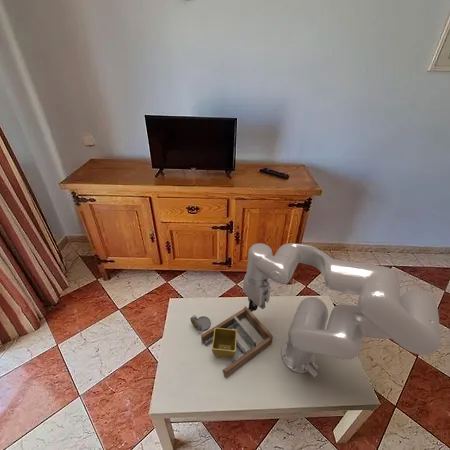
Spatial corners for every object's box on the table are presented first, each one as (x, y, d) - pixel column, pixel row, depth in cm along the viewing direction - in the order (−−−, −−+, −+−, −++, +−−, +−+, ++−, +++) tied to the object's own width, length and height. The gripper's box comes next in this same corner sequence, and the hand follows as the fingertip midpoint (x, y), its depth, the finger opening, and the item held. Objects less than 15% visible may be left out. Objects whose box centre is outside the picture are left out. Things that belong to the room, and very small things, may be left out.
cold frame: (271, 344, 105) (273, 336, 101) (225, 378, 94) (225, 370, 91) (245, 314, 116) (245, 305, 112) (201, 342, 105) (200, 333, 102)
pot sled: (255, 350, 102) (256, 340, 98) (224, 373, 95) (224, 364, 91) (234, 325, 111) (235, 315, 107) (204, 344, 104) (204, 334, 100)
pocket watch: (212, 319, 114) (211, 304, 108) (207, 336, 107) (206, 322, 101) (194, 315, 115) (193, 301, 109) (188, 332, 109) (186, 318, 103)
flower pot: (236, 341, 106) (237, 329, 100) (234, 363, 99) (235, 351, 93) (215, 339, 106) (214, 327, 101) (212, 361, 99) (211, 349, 94)
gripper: (281, 285, 85) (273, 318, 96) (251, 258, 95) (248, 291, 106) (263, 295, 82) (258, 328, 93) (235, 267, 91) (233, 299, 102)
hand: (252, 308), depth 99 cm, fingers closed
